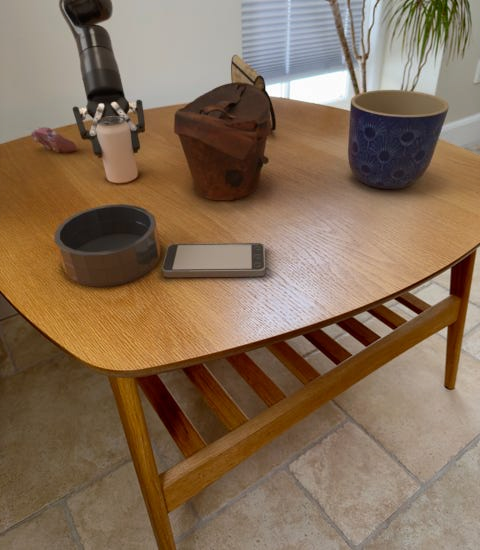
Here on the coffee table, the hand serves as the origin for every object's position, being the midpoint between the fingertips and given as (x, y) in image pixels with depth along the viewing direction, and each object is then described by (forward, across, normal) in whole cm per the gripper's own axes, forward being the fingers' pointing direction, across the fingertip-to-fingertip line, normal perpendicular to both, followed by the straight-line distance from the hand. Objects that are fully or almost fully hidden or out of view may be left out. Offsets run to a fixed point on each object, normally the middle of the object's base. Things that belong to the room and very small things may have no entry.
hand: (118, 153), depth 87 cm
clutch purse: (-14, +38, +22) cm, 46 cm away
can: (+3, 0, +5) cm, 6 cm away
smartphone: (+29, +10, -21) cm, 37 cm away
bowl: (+24, -5, -16) cm, 29 cm away
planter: (+18, +50, -9) cm, 54 cm away
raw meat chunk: (-13, -14, +21) cm, 28 cm away
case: (+12, +19, -3) cm, 23 cm away
